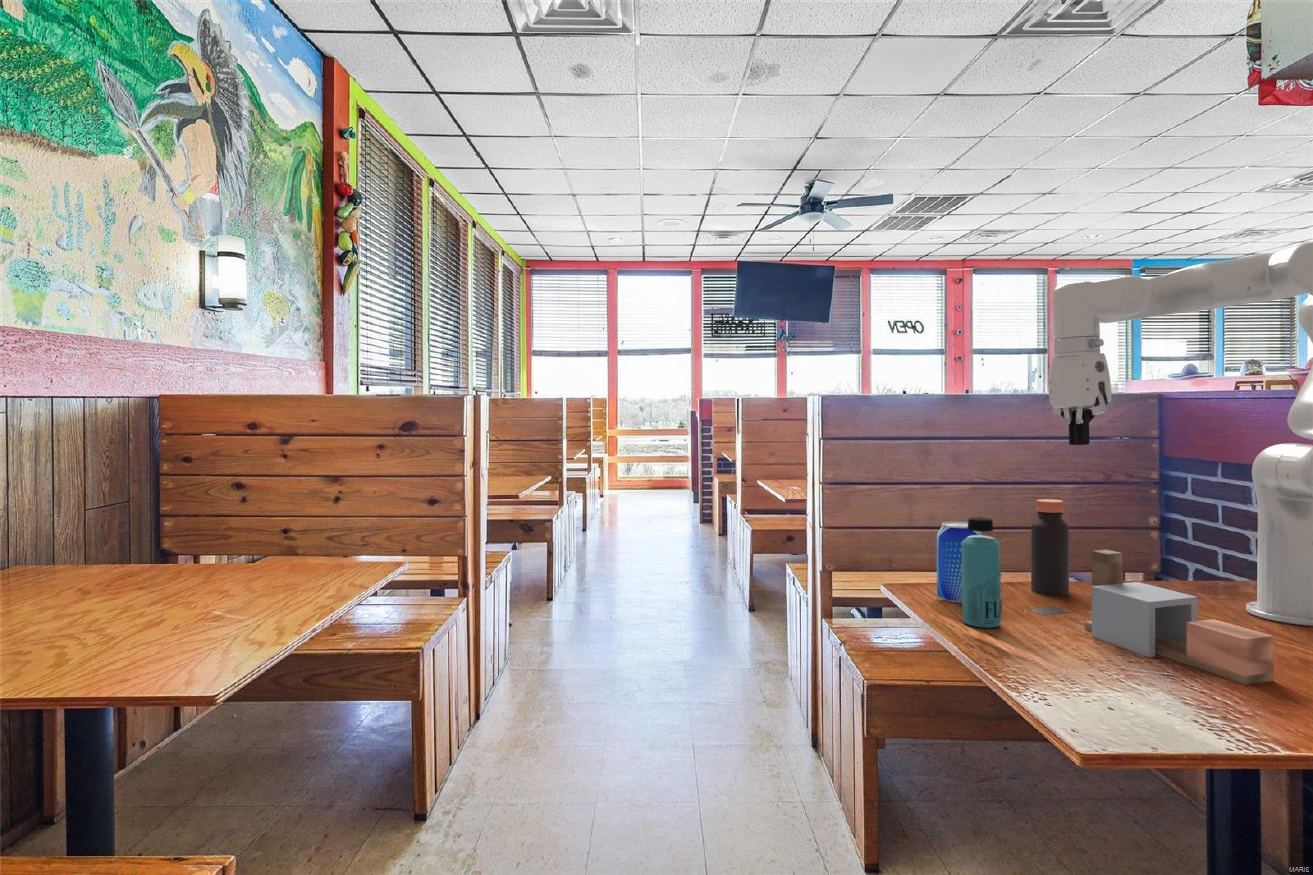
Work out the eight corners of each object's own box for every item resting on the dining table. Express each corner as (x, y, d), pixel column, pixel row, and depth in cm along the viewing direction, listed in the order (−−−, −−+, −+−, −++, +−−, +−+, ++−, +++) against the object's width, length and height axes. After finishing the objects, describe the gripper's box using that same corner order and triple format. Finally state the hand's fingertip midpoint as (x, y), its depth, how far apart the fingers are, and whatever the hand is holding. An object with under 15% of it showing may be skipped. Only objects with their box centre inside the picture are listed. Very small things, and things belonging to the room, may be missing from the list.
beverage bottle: (985, 638, 116) (985, 521, 115) (952, 628, 122) (952, 516, 121) (1010, 632, 119) (1010, 518, 118) (977, 622, 125) (976, 513, 124)
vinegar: (1025, 592, 145) (1025, 498, 144) (1060, 593, 144) (1060, 498, 143) (1039, 601, 138) (1038, 502, 137) (1075, 602, 137) (1075, 502, 136)
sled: (1108, 625, 118) (1108, 548, 117) (1273, 680, 93) (1274, 583, 93) (1084, 628, 117) (1084, 550, 116) (1245, 685, 92) (1246, 586, 92)
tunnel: (1137, 632, 115) (1137, 581, 115) (1197, 651, 105) (1197, 596, 105) (1091, 637, 113) (1091, 586, 113) (1148, 658, 103) (1148, 602, 103)
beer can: (937, 606, 136) (936, 526, 135) (936, 596, 143) (936, 520, 143) (984, 610, 133) (983, 528, 132) (981, 599, 140) (981, 521, 140)
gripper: (1128, 343, 124) (1131, 444, 124) (1059, 352, 138) (1061, 442, 139) (1096, 344, 122) (1099, 446, 122) (1029, 352, 136) (1032, 444, 137)
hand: (1079, 444), depth 130 cm, fingers closed
